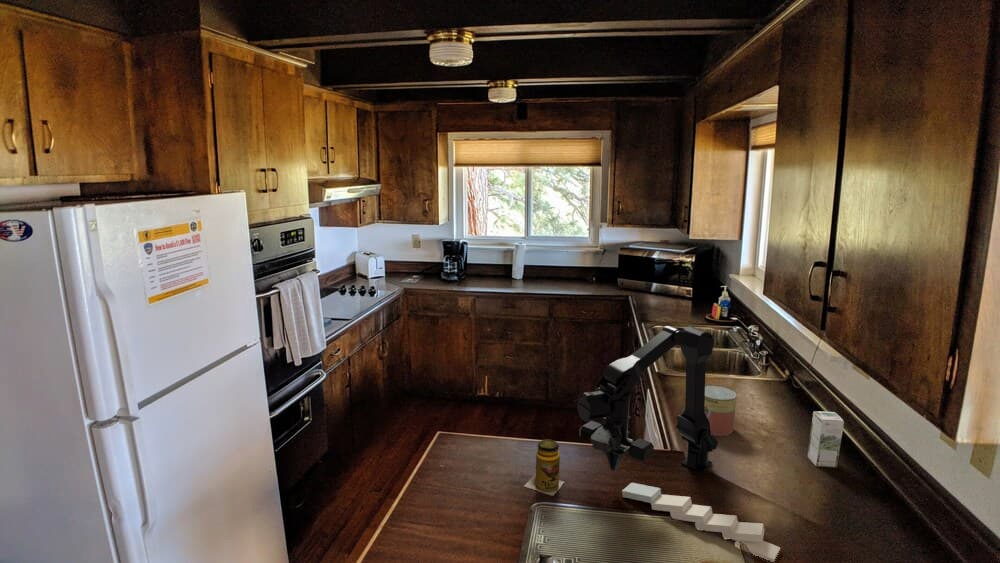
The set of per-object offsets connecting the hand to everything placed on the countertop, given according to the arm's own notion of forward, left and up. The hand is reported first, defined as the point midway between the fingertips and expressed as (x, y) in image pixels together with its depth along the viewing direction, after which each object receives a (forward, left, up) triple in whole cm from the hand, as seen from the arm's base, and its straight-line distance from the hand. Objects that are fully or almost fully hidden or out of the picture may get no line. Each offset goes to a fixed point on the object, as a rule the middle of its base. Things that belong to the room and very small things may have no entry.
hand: (613, 470), depth 144 cm
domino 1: (0, +4, -4) cm, 6 cm away
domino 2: (-1, +12, -4) cm, 13 cm away
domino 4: (0, +23, -4) cm, 23 cm away
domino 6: (-1, +32, -5) cm, 32 cm away
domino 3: (-1, +17, -4) cm, 17 cm away
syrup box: (-52, +36, -5) cm, 63 cm away
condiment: (+12, -13, -5) cm, 18 cm away
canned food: (-52, +5, -5) cm, 53 cm away
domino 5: (-1, +29, -4) cm, 29 cm away
